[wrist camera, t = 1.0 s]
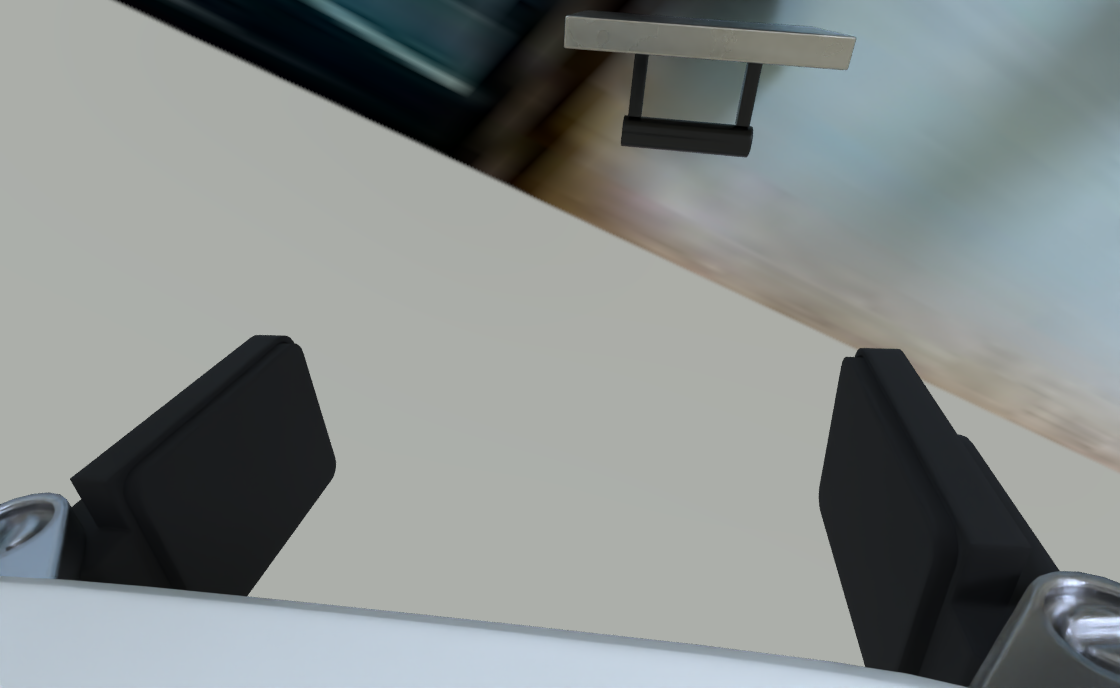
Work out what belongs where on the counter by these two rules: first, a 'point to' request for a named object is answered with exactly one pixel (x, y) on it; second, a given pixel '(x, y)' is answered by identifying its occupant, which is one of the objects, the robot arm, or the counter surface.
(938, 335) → the counter surface
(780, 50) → the drawer
